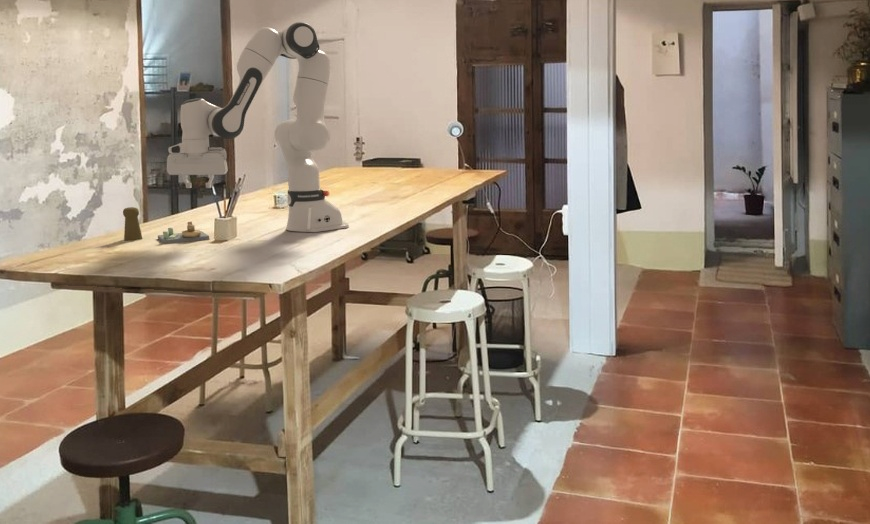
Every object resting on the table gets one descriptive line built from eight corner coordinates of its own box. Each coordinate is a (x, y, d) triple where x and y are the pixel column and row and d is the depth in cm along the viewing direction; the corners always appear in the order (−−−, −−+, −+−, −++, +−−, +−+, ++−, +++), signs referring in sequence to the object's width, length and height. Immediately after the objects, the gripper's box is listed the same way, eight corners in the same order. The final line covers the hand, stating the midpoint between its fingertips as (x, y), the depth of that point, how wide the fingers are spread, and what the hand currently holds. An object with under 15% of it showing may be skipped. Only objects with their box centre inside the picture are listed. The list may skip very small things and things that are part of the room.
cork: (136, 237, 311) (133, 205, 309) (146, 238, 307) (143, 207, 305) (120, 239, 307) (117, 207, 304) (130, 241, 303) (127, 209, 301)
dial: (201, 236, 301) (200, 225, 300) (182, 237, 299) (181, 226, 299) (199, 231, 311) (198, 221, 310) (181, 232, 309) (180, 222, 308)
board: (201, 234, 314) (200, 224, 313) (209, 239, 304) (208, 228, 303) (157, 238, 307) (157, 228, 306) (164, 243, 297) (163, 232, 297)
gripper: (228, 146, 304) (231, 186, 307) (170, 146, 305) (173, 186, 308) (223, 147, 298) (225, 188, 301) (163, 148, 299) (166, 189, 302)
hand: (198, 187), depth 304 cm, fingers open, 5 cm apart
